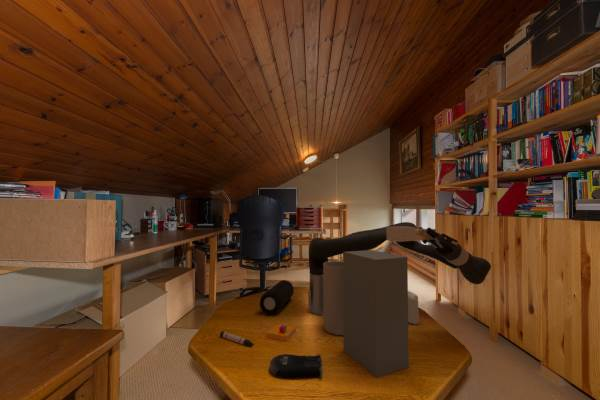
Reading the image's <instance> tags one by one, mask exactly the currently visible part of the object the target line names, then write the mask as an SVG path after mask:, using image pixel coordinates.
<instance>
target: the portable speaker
mask: <svg viewBox="0 0 600 400" xmlns="http://www.w3.org/2000/svg"><path fill="white" fill-rule="evenodd" d="M294 289H295V288H294V286H293V284H292V283H291V281H288V280H286V279H285V280H283V279H282V280H280V281H279V282H277V283H276V284H274V285H273V286H272V287H271V288H269V289H268V290H266V292H264V293H263V294H262V295H261V297H260V300H259V308H260V309H261V311H262V312H263V313H265V314H266V315H273V314H276V313H278V312H279V311H280V310H281V309H282V308H283V307H284V306H285V305H286V304H287V302H289V300H290V299H291V298H292V297H293V295H294V293H295V291H294Z"/></svg>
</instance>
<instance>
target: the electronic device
mask: <svg viewBox="0 0 600 400" xmlns="http://www.w3.org/2000/svg"><path fill="white" fill-rule="evenodd" d="M268 369H269V371H270V373H271V374H272V375H274V376H276V377H277V378H287V379H294V378H295V379H297V378H298V379H301V378H314V377H318V378H320V379H322V378H323V371H324V370H323V361H322V355H321V353H319V354H316V355H296V354H288V353H282V354H278V355H276V356H273V358H272V359H270V362H269V368H268Z"/></svg>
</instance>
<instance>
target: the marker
mask: <svg viewBox="0 0 600 400" xmlns="http://www.w3.org/2000/svg"><path fill="white" fill-rule="evenodd" d="M219 337H220V338H223V339H225V340H228V341H230V342H234V343H236V344H240V345H242V346H245V347H253V346H254V345H255V344H254V343H253V342H252V341H251V340H250V339H247V338H244V337H242V336H238V335H237V334H232V333H230V332H226V331H224V330H223V331H220V333H219Z"/></svg>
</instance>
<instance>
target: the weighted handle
mask: <svg viewBox="0 0 600 400" xmlns="http://www.w3.org/2000/svg"><path fill="white" fill-rule="evenodd" d="M385 227H386V226H385ZM416 227H417V226H416ZM416 227H405V226H402V227H386V233H387V240H386V241H390V242H395V241H396V242H403V241H422V240H430V239H434V238H432V237H431V236H430V235H428V234H427V233H426V231H427V228H423V229H419V228H417V229H416ZM431 229H432V230H434V231H435V232H437V229H436V228H431ZM396 242H395V243H396Z"/></svg>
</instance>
